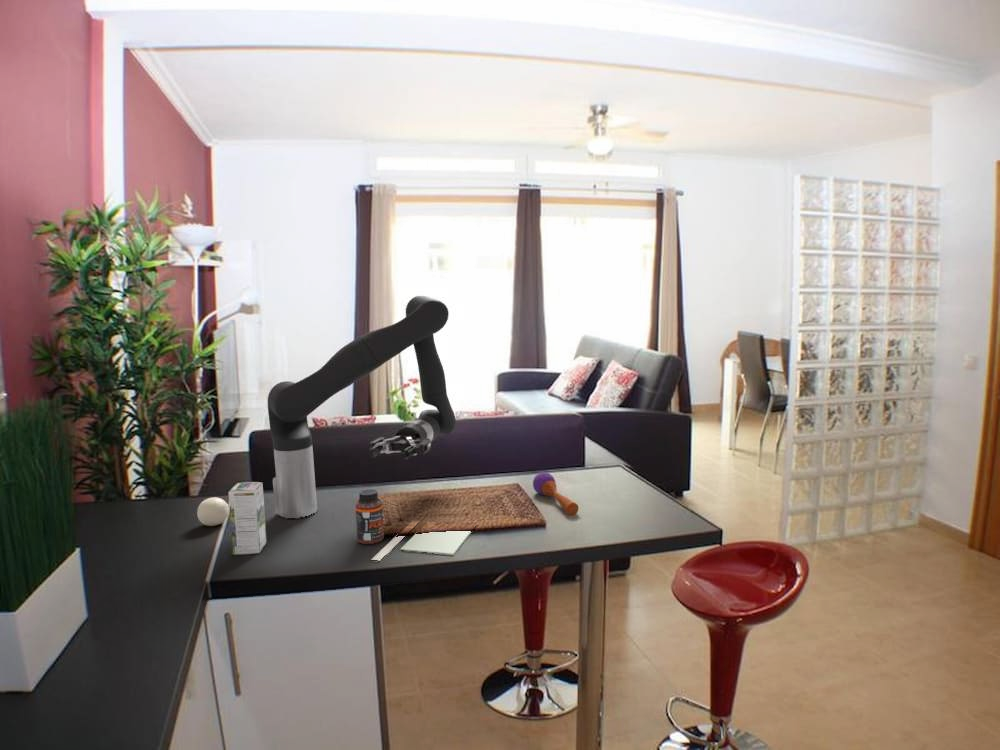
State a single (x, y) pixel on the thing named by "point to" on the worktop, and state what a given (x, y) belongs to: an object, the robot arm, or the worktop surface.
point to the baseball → (212, 511)
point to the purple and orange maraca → (553, 492)
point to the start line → (388, 548)
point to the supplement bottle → (369, 517)
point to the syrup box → (247, 518)
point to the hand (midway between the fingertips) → (388, 454)
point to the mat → (437, 542)
